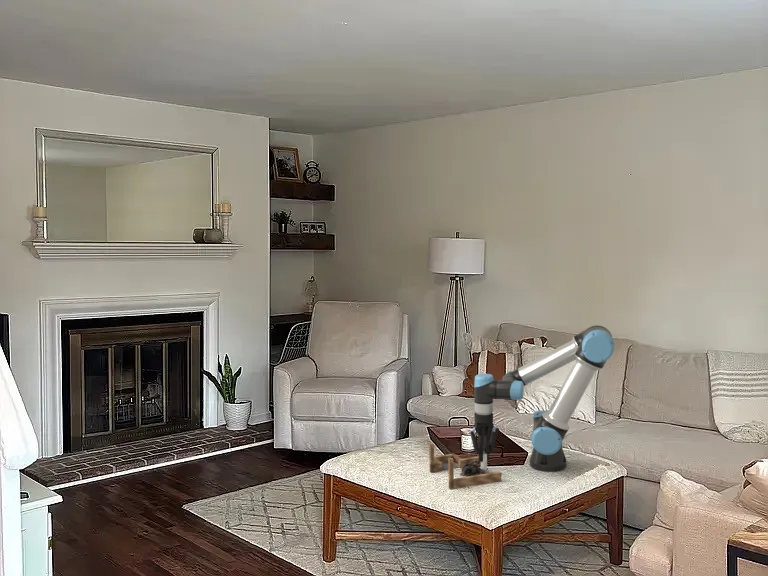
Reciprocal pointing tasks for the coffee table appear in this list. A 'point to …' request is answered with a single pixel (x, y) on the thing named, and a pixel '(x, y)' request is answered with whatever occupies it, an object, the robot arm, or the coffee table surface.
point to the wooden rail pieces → (463, 481)
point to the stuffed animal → (472, 469)
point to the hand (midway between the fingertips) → (483, 468)
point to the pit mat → (445, 466)
